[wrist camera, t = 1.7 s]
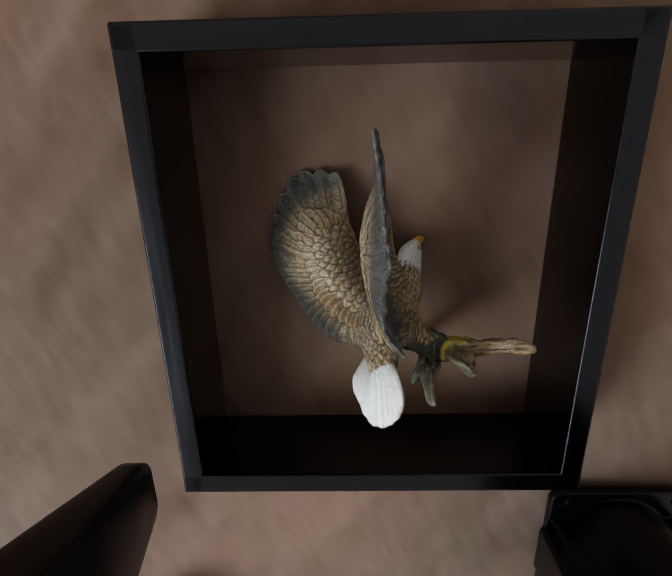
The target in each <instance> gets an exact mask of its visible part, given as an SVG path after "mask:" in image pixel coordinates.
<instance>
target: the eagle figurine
mask: <svg viewBox="0 0 672 576" xmlns="http://www.w3.org/2000/svg"><path fill="white" fill-rule="evenodd" d="M371 137H372V148H373V160H374V183H373V188H372V191H371V193H370V196H369V199H368V202H367V205H366V209H365V211H364V215H363V221H362V225H361V231H360V244H359V242H358V240H357V238H356V235H355V233H354V231H353V229H352V227H351V224H350V220H349V214H348V207H347V200H346V197H345V190H344V185H343V182H342V180H341V176H340V174H339V173H338V172H332V173H331V174H328V173H327V172H325V171H324V170H322V169H318V170H317V171H315V173H314V174H311V173H310V172H309V171H306V170H302V171H300V172H299V174H298V177H296V178H295V177H291V178H289V179H288V181H287V185H286V192H285V193H281V194H280V195H279V197H278V208H279V211H280V214H275V215H274V216H273V222H274V226H275V227H274V228H273V229H272V230H271V233H270V235H271V245H272V248H273V249H274V252H273V258H274V260H275V261H276V263H277V269H278V271H279V273H280V274H281V275H282V276H283V279H284V281H285V283H286V284H287V286H288V288H289V289H290V290H291V291H292V292H294V297H295V298H296V299H297V301H298V302H299V304H300V306H301V307H302V308H303V309H304V310H305V311H306V313H307V316H308V317H309V318H310V319H311V321H312V322H313V324H315V325H316V326H317V327H318V328H319V329H320V330H321V331H323V332H325V333H326V334H327V335H328V337H330V338H334V339H335V340H336V341H338V342H341V341H344V342H345V343H347V344H352V343H353V344H354V345H355V346H356V347H357V348H362V350H363V353H364V358H363V360H362V362H361V363H360V365H359V367H358V368H357V370H356V372H355V374H354V376H353V391H354V394H355V396H356V397H357V400H358V402H359V403H360V406H361V409H362V413H363V414H364V416H365V417H366V418H367V420H368V422H369V423H370V424H371V425H372V426H375V427H376V426H377V427H380V428H385V427H388V426H390V425H393V424H394V423H395V422H396V421H397V420H399V418H400V416H401V414H402V412H403V410H404V405H405V399H404V390H403V385H402V382H401V379H400V376H399V373H398V370H397V366H398V357H399V356H400V357H401V358H406V356H405V355H404V353H403V352H402V350H401V349H402V348H404V349H405V350H411V351H414V352H416V353H417V354H418V355H419V358H418V362H417V365H416V367H415V370H414V371H413V374H412V379H411V382H412V383H416V382H418V381H419V379H420V380H421V382H422V384H423V388H424V392H425V397H426V400H427V403H428V404H429V405H431V406H433V407H435V406H436V397H435V390H434V387H435V381H436V377H437V375H438V373H439V371H440V368H441V362H446V361H450V362H451V363H452V364H453V365H454V366H455V367H457V368H458V369H459V370H460V371H462V372H463V373H464V374H466V375H467V376H469V377H474V376H476V375H477V373H478V368H479V367H478V362H477V360H476V357H480V356H486V355H492V354H498V353H513V354H519V355H528V354H533V353H535V352H536V351H537V347H536V346H535V345H533V344H531V343H529V342H526V341H523V340H520V339H517V338H508V339H501V338H497V339H494V338H491V339H484V340H476V339H472V338H469V337H458V336H450V337H448V336H446V335H445V334H443V333H441V332H438V331H437V330H436V329H435V328H433V327H427V326H426V324H425V323H424V322H423V321H422V319H421V317H420V314H419V309H418V305H419V302H420V299H421V292H422V280H421V255H422V252H421V243H422V242H423V241H424V238H423V237H422V236H416V237H414V238H413V239H412V240H410V241H409V242H407V243H406V244H404V245H403V246H402V247H401V248H400V250H399V253H398V256H396V253H395V249H394V245H393V235H392V225H391V217H390V212H389V209H388V204H387V199H386V190H385V184H386V181H385V161H384V155H383V152H382V149H381V147H380V140H379V133H378V131H377V129H376V128H374V127H373V128H372V132H371Z"/></svg>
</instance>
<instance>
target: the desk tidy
mask: <svg viewBox="0 0 672 576" xmlns="http://www.w3.org/2000/svg"><path fill="white" fill-rule="evenodd" d="M671 14H672V6H671V5H664V6H633V7H599V8H565V9H531V10H497V11H463V12H429V13H395V14H361V15H327V16H293V17H259V18H225V19H191V20H157V21H123V22H108V23H107V26H108V32H109V37H110V43H111V49H112V54H113V59H114V65H115V71H116V77H117V83H118V89H119V95H120V101H121V107H122V113H123V119H124V125H125V131H126V137H127V143H128V149H129V155H130V161H131V167H132V172H133V178H134V184H135V190H136V196H137V202H138V208H139V214H140V220H141V226H142V232H143V238H144V244H145V250H146V256H147V262H148V268H149V274H150V280H151V285H152V291H153V297H154V303H155V309H156V315H157V321H158V327H159V333H160V339H161V345H162V351H163V357H164V363H165V369H166V375H167V381H168V387H169V393H170V399H171V404H172V410H173V416H174V422H175V428H176V434H177V440H178V446H179V452H180V458H181V464H182V470H183V478H184V484H185V490H186V492H240V491H427V490H577V489H578V487H579V482H580V477H581V471H582V466H583V461H584V456H585V451H586V446H587V441H588V435H589V430H590V425H591V420H592V415H593V410H594V405H595V400H596V395H597V390H598V385H599V380H600V375H601V369H602V364H603V359H604V354H605V349H606V344H607V339H608V334H609V329H610V324H611V319H612V314H613V309H614V304H615V298H616V293H617V288H618V283H619V278H620V273H621V268H622V263H623V258H624V253H625V248H626V243H627V238H628V232H629V227H630V222H631V217H632V212H633V207H634V202H635V197H636V192H637V187H638V182H639V177H640V172H641V166H642V161H643V156H644V151H645V146H646V141H647V136H648V131H649V126H650V121H651V116H652V111H653V106H654V101H655V95H656V90H657V85H658V80H659V75H660V70H661V65H662V60H663V55H664V50H665V45H666V40H667V35H668V29H669V24H670V19H671ZM548 59H571V66H570V73H569V80H568V88H567V95H566V102H565V110H564V117H563V124H562V132H561V139H560V146H559V154H558V161H557V168H556V176H555V183H554V190H553V198H552V205H551V212H550V220H549V227H548V234H547V242H546V249H545V256H544V264H543V271H542V278H541V286H540V293H539V300H538V308H537V315H536V322H535V330H534V337H533V345H535V346H536V347H537V351H536V352H535V353H533V354H531V359H530V366H529V374H528V381H527V388H526V396H525V403H524V410H523V413H511V414H402V415H401V416H400V418H399V420H397V421H396V422H395V423H394V424H393V425H390V426H388V427H385V428H380V427H377V426H376V427H375V426H372V425H371V424H370V423H369V422H368V420H367V418H366V417H365V416H364V415H294V416H227V415H226V407H225V398H224V390H223V382H222V374H221V366H220V357H219V349H218V341H217V333H216V324H215V316H214V308H213V300H212V292H211V283H210V275H209V267H208V259H207V251H206V242H205V234H204V226H203V218H202V209H201V201H200V193H199V185H198V177H197V168H196V160H195V152H194V144H193V136H192V127H191V119H190V111H189V103H188V94H187V86H186V78H185V70H184V69H214V68H251V67H288V66H325V65H362V64H399V63H437V62H474V61H511V60H548Z"/></svg>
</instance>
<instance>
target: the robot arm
mask: <svg viewBox="0 0 672 576" xmlns="http://www.w3.org/2000/svg"><path fill="white" fill-rule="evenodd" d="M559 498H561V499H559ZM157 508H158V504H157V497H156V492H155V487H154V482H153V477H152V472H151V469H150V467H149V465H148V464H146V463H124V464H121V465H119V466H118V467H116V468H115V469H113V470H112V471H110V472H109V473H108V474H106V475H105V476H103V477H102V478H100V479H99V480H98V481H96V482H95V483H93V484H92V485H90V486H89V487H88V488H86V489H85V490H83V491H82V492H80V493H79V494H78V495H76V496H75V497H73V498H72V499H70V500H69V501H68V502H66V503H65V504H63V505H62V506H60V507H59V508H58V509H56V510H55V511H53V512H52V513H51V514H49V515H48V516H46V517H45V518H43V519H42V520H41V521H39V522H38V523H36V524H35V525H33V526H32V527H31V528H29V529H28V530H26V531H25V532H23V533H22V534H21V535H19V536H18V537H16V538H15V539H13V540H12V541H11V542H9V543H8V544H6V545H5V546H3V547H2V548H1V549H0V576H138V575H139V572H140V569H141V566H142V562H143V559H144V556H145V552H146V549H147V546H148V543H149V539H150V536H151V533H152V529H153V526H154V523H155V520H156V516H157ZM534 566H535V568H536V570H535V576H672V487H578V489H577V490H552V491H550V493H549V495H548V500H547V506H546V512H545V518H544V524H543V526H542V527H541V529H540V531H539V536H538V542H537V548H536V554H535V560H534Z"/></svg>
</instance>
